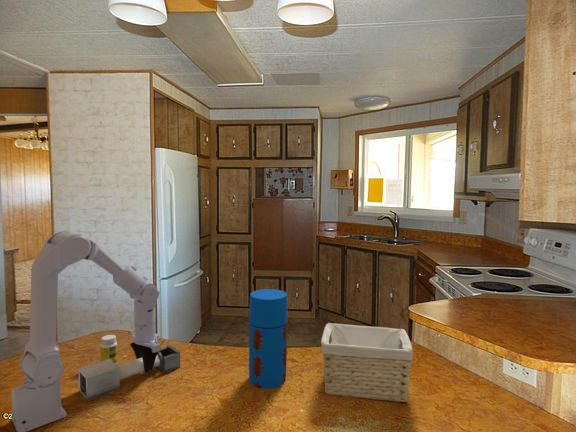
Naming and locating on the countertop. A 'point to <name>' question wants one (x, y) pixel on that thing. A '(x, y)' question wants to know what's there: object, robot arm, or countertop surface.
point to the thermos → (267, 338)
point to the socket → (170, 359)
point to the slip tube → (137, 366)
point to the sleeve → (99, 379)
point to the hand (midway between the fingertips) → (145, 368)
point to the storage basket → (366, 361)
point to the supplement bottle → (108, 348)
